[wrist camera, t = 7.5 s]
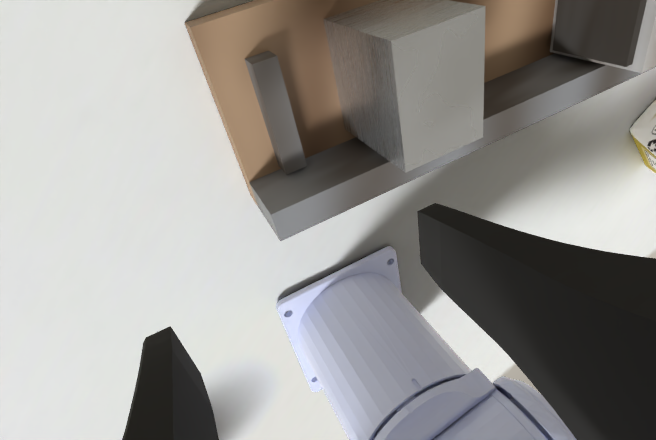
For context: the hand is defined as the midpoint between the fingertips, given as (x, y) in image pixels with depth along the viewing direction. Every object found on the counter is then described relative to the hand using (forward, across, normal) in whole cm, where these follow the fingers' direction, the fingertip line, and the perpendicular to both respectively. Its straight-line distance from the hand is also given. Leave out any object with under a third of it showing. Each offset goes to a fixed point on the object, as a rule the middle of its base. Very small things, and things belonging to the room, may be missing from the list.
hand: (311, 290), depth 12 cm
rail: (+10, -12, -2) cm, 16 cm away
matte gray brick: (+9, -7, -2) cm, 12 cm away
